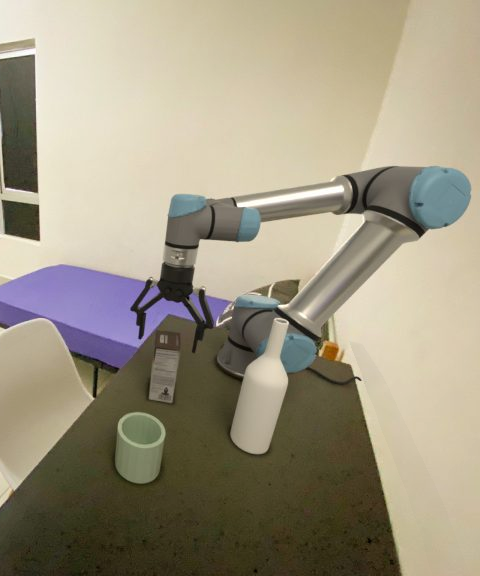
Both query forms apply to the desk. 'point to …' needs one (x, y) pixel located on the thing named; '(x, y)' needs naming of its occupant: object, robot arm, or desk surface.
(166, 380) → the coffee box
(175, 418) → the desk surface
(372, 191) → the robot arm
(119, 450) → the cup
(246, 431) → the bottle
